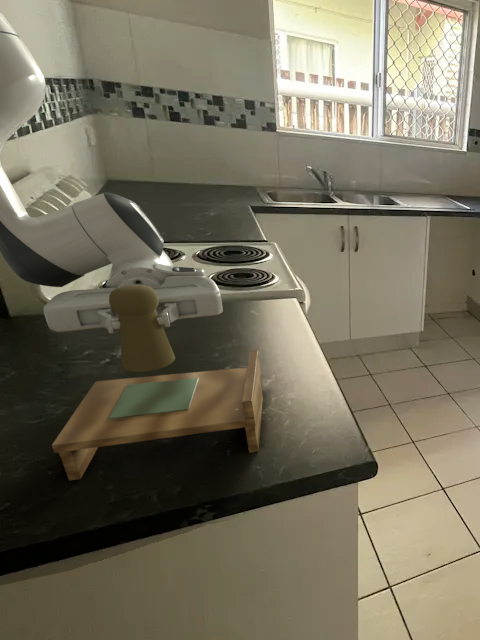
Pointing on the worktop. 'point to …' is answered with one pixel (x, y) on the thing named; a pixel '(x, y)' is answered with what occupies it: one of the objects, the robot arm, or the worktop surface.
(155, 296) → the cork
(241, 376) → the shelf
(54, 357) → the worktop surface
